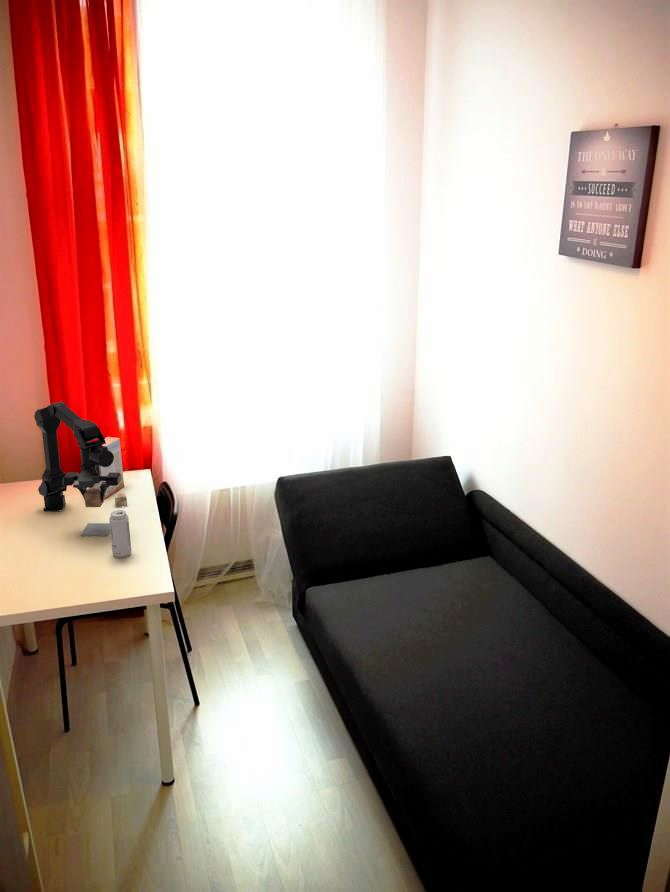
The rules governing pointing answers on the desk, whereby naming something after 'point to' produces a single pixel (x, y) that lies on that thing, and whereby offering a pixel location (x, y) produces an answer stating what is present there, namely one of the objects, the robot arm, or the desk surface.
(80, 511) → the desk surface
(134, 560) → the desk surface
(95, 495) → the walnut cube
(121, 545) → the energy drink can
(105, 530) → the slate coaster
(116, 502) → the oak block
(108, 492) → the cracker box
